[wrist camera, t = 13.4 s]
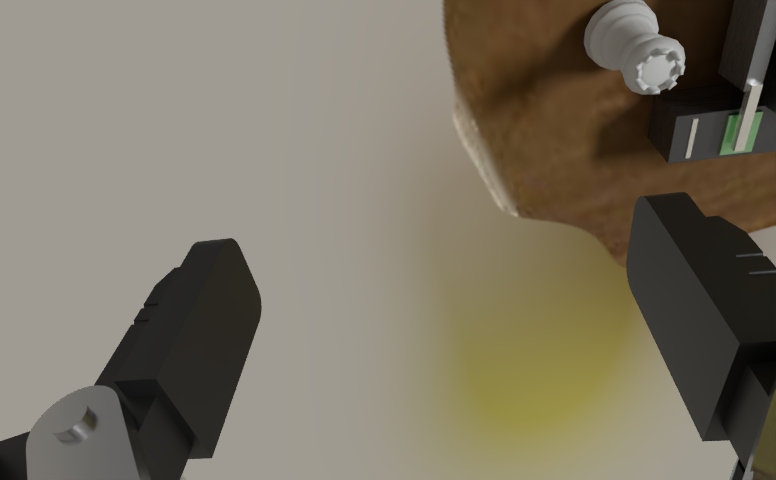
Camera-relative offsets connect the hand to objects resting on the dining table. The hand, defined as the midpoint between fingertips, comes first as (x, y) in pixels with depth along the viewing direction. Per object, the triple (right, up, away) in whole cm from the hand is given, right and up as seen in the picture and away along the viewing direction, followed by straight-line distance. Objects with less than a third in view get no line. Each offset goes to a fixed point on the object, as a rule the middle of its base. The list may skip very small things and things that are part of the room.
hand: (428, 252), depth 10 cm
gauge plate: (+22, +13, +23) cm, 34 cm away
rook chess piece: (+15, +14, +24) cm, 31 cm away
